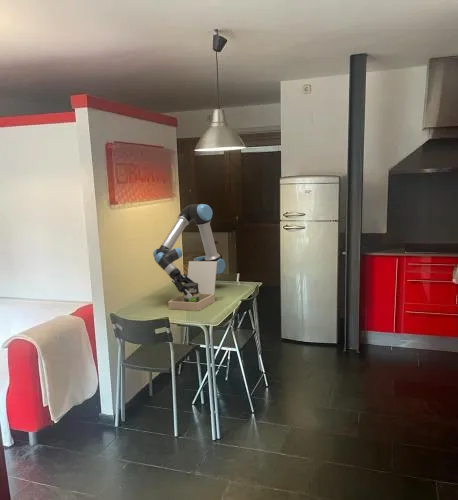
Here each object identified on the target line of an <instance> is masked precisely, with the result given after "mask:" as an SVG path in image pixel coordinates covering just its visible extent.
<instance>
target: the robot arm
mask: <svg viewBox="0 0 458 500" xmlns="http://www.w3.org/2000/svg"><path fill="white" fill-rule="evenodd" d="M213 214H214V213H213V209H212V208H211V207H210V205H208V204H204V203H200V204H199V203H197V204H188V205H187V206H186V207H184V208H183V209H182V210H181V211H180V213H179V215H178V216H177V220H176V221H175V223H174V225H173V226H172V228H171V229H170V230H169V233H168V234H167V236H166V237H165V239H164V240H163V242H162V243H161V245H160V246H159V247H158V248H156V249H154V250H153V255H152V256H153V258H154V261H155V263H156V264H157V265H158V266H159V267H160V268H161V269H162V271H164V272H165V273H166V274H167V276H169V278H170V279H171V282H172V284H174V286H175V288H176V289H177V290H178V292H179V293H180V294H182V293H184V294H185V295H186V296H187V297H188V298H189V299H191V298H192V295H191V294H190V293H189V292H188V291H187V290H186V289H184V286H183V284H185V283H195V282H193V281H192V280H191V279H190V278H188V277H187V276H188V275H186V274H185V273H184V274H181V273H182V272H181V270H180V269H179V268H177V266H176V264H174V263H173V262H175V261H177V260H179V259H180V258H182V256H183V250H182V249H180V247H175V248H173V247H174V245H175V244H176V242H177V241H178V239H179V237H181V234H183V231H184V230H185V228H186V227H187V226H189V224H190V223H192V222H193V221H194V223H195V225H196V226H198V231H199V235H200V238H201V241H202V244H203V248H204V253H205V255H201V256H197V257H194V258H193V261H217V269H216V275H221V274H223V272H224V271H225V268H226V261H225V260H224V258H223V259H222V258H221V255H220V253H218V251H217V248H216V243H215V239H214V235H213V231H212V227H211V222H212V218H213ZM199 294H200V291H199Z"/></svg>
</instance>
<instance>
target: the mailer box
mask: <svg viewBox="0 0 458 500" xmlns="http://www.w3.org/2000/svg"><path fill="white" fill-rule="evenodd" d="M187 268H188V269H187V275H186V276H187V277H188V278H190V279H191V280H192V281H193V282H195V283H198V289H199V291H200V294H199V302H197V303H194V302H184V294H180V295H179V296H177V297H175V298H173V299H170V300H169V301H168V302H167V304H168V309H169V310H177V309H178V310H180V311H192V310H195V311H197V312H199V311H200V309H201V310H202V309H204V308H206V307H208V306H209V305H211V304H213V303H215V302H216V300H215V293H216V291H215V290H216V282H217V281H216V280H217V279H216V278H217V274H216V269H217V261H194V260H189V261H188V265H187ZM207 305H208V306H207Z"/></svg>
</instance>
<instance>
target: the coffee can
mask: <svg viewBox="0 0 458 500" xmlns="http://www.w3.org/2000/svg"><path fill="white" fill-rule="evenodd" d="M182 284H183V286H184V289H186V290H187V291H188V292H189V293H190V294H191V295H192V298H191V299H189V298H188V297H187V296H186V295H185V294H184V293H183V292H182V293H183V294H184V302H194V303H197V302H199V289H198V283H182ZM183 294H182V295H183Z"/></svg>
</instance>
